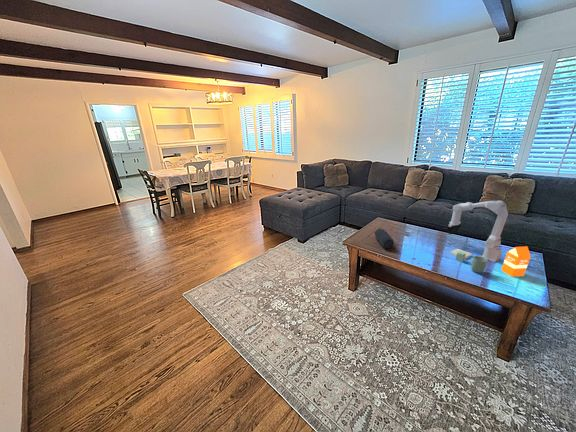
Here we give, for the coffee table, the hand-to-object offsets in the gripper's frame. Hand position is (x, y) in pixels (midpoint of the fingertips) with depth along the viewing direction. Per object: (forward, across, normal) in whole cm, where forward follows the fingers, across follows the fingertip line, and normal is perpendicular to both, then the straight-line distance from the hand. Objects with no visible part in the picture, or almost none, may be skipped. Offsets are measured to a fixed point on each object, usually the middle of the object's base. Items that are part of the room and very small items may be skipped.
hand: (452, 233), depth 200 cm
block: (+10, +22, +19) cm, 31 cm away
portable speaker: (+10, +47, -30) cm, 57 cm away
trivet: (+11, +13, +15) cm, 23 cm away
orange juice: (+10, +10, +46) cm, 48 cm away
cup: (+10, +28, +33) cm, 44 cm away
